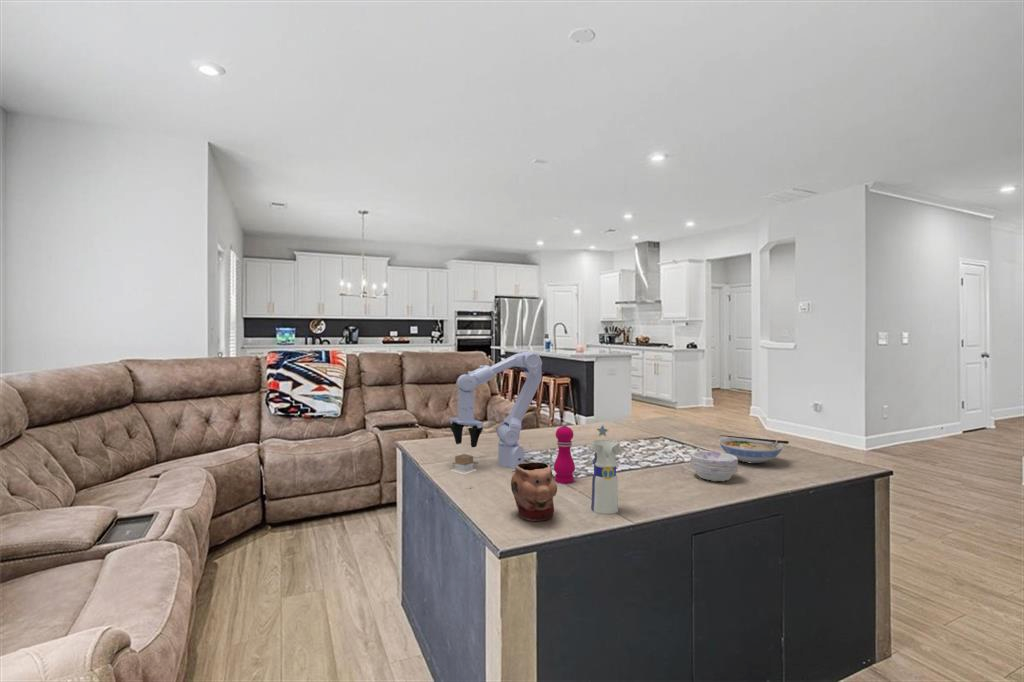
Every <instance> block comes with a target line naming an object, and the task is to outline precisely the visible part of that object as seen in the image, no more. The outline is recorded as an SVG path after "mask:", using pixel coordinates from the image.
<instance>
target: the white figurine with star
mask: <svg viewBox="0 0 1024 682" xmlns="http://www.w3.org/2000/svg"><path fill="white" fill-rule="evenodd" d="M596 430H597V431H598V432H599V433H598V437H601V436H604V437H607V432H608V431H609V429H608V428H605V427H604V424H602V425H601V426H600V427H599V428H596ZM590 450H591V451H592V452H593V453H594V459H593V461H592V464H593V475H592V479H591V481H592V482H591V502H590V503H591V504H590V509H591V510H592V512H594V513H597V514H602V515H612V514H616V513H618V512H619V497H618V495H619V494H618V487H619V486H618V484H619V483H618V477H617V465H618V462H617V460H616V456H618V455H619V454H620V453H621V451H622V448H621V446H620V443H619V442H618V441H617V440H613V439H609V438H608V439H606V438H605V439H603V438H600V439H594V440H592V443H591V444H590Z"/></svg>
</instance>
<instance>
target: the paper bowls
mask: <svg viewBox="0 0 1024 682" xmlns="http://www.w3.org/2000/svg"><path fill="white" fill-rule="evenodd" d="M738 464H739V460H738V458H737V457H736V456H734V455H731V454H727V453H726V452H720V451H710V450H709V451H707V450H706V451H705V450H703V451H702V450H701V451H694V452H691V454H690V465H689V466H690V469H691V470H694V471H695V472H696V474H697V476H698V477H699V478H700V479H702V478H703V480H705V479H706V480H705V481H709V480H711V481H710V482H717V481H722V482H726V481H725V480H727V481H729V480H730V479H731V477H732V476H733V475H735V474H737V473H738V468H739V467H738Z"/></svg>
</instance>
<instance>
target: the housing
mask: <svg viewBox="0 0 1024 682" xmlns="http://www.w3.org/2000/svg"><path fill="white" fill-rule="evenodd" d="M454 457H455V458H454V463H455V464H454V465H455V467H454V469H455V470H456V471H459V472H463V473H465V472H468V471H471V470H473V469H474V465H473V462H474V455H472V454H470V455H469V454H465V453H463V454H459V455H455V456H454Z"/></svg>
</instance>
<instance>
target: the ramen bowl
mask: <svg viewBox="0 0 1024 682" xmlns="http://www.w3.org/2000/svg"><path fill="white" fill-rule="evenodd" d="M719 436H720V437H721V438H718V442H719V445H720V447H721V448H722V449H723V451H724V453H727V454H731V455H734V456H736V457H737V458H738V461H739V460H740V461H739V462H741V461H744V462H751V463H759V462H761V463H764V462H769V461H770V460H772V459H774V458H776V457H777V456H778V455H779V454H780V453H781V451H782V450H783V449H784V446H783V444H787V445H789V443H790V442H789V441H790V440H789V441H787V440H779V439H770V438H769V439H767V438H757V437H748V436H733V435H723V434H722V435H721V434H720V435H719ZM759 464H760V463H759Z"/></svg>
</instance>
